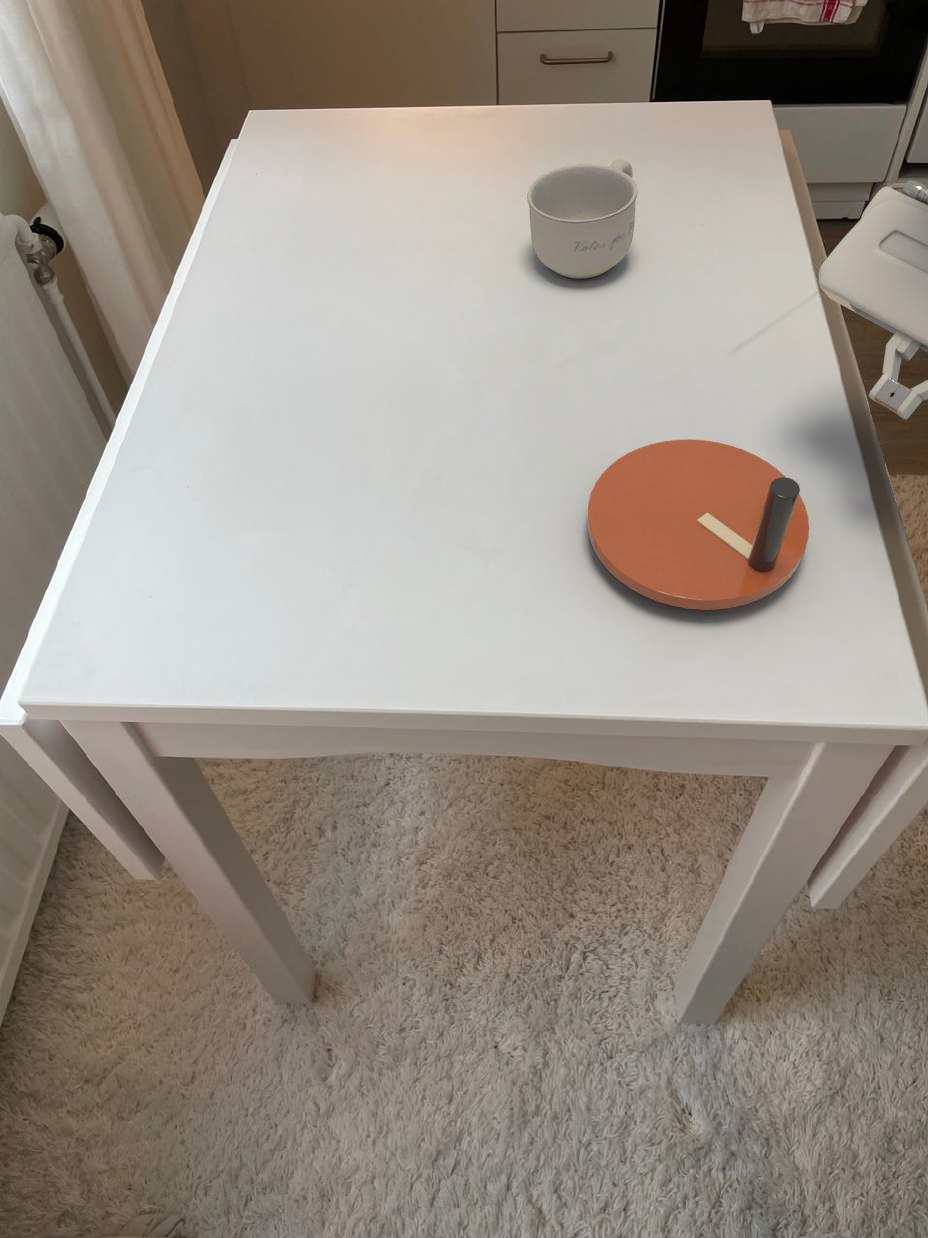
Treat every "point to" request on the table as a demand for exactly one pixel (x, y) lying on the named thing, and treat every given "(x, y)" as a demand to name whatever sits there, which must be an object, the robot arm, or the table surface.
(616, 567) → the orange turntable with peg
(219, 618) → the table surface
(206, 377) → the table surface
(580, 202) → the teacup
